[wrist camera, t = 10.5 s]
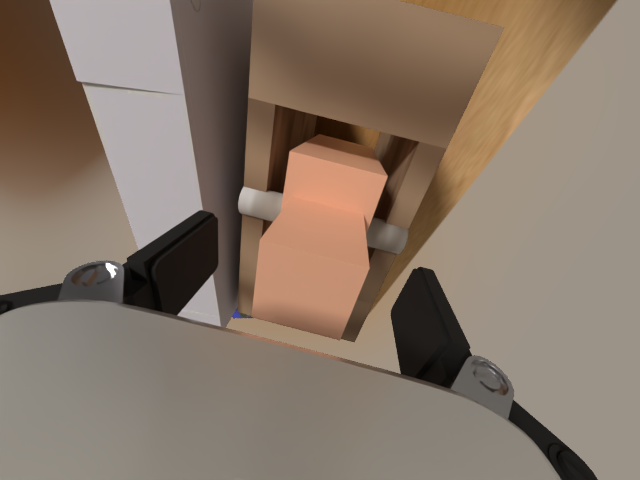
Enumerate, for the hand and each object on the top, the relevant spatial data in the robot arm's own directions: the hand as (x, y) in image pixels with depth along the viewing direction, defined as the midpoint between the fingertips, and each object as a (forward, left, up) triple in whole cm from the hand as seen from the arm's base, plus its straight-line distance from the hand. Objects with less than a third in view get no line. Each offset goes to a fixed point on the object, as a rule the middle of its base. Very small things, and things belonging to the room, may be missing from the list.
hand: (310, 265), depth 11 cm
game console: (-1, -10, -23) cm, 26 cm away
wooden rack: (0, 0, -23) cm, 23 cm away
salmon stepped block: (0, 0, -14) cm, 14 cm away
